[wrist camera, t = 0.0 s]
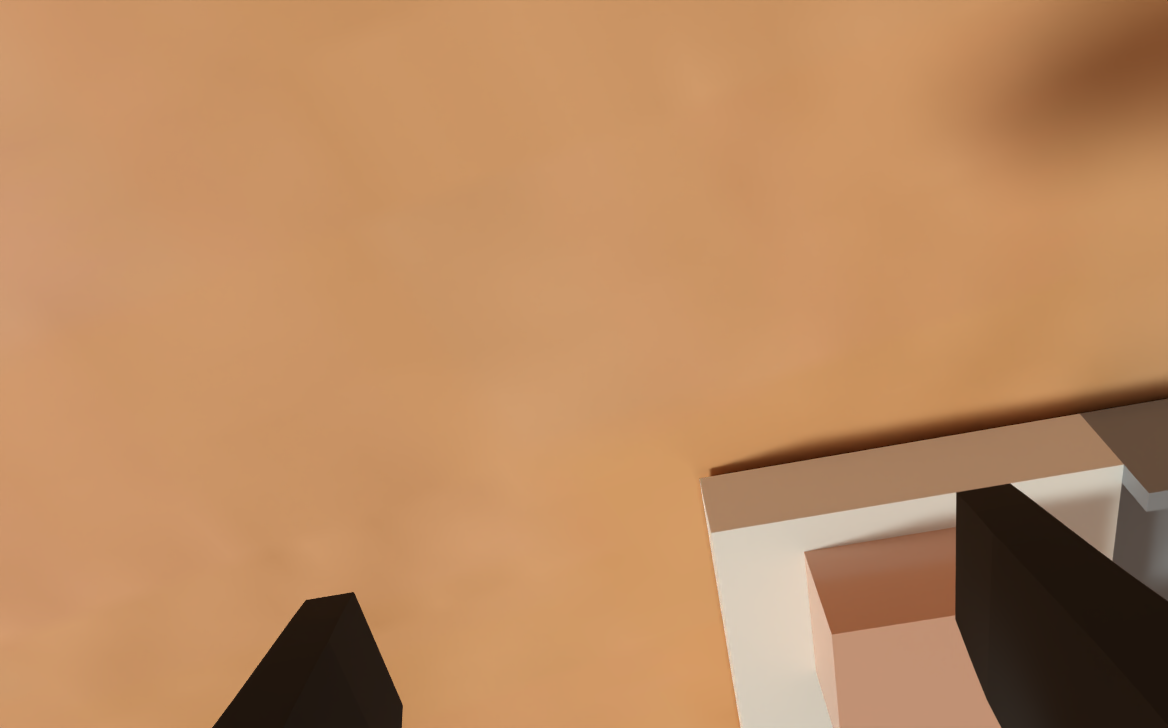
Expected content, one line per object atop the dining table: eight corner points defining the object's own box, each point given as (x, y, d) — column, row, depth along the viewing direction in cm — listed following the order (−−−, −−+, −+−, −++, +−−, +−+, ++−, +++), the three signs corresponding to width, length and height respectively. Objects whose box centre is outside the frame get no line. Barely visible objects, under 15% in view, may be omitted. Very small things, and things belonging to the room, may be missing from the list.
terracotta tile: (979, 647, 23) (1022, 732, 21) (816, 672, 23) (842, 759, 21) (982, 522, 21) (1031, 603, 19) (803, 551, 21) (831, 634, 19)
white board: (1052, 721, 28) (1086, 782, 26) (746, 766, 28) (759, 828, 27) (1079, 413, 22) (1123, 464, 20) (699, 478, 23) (710, 532, 21)
